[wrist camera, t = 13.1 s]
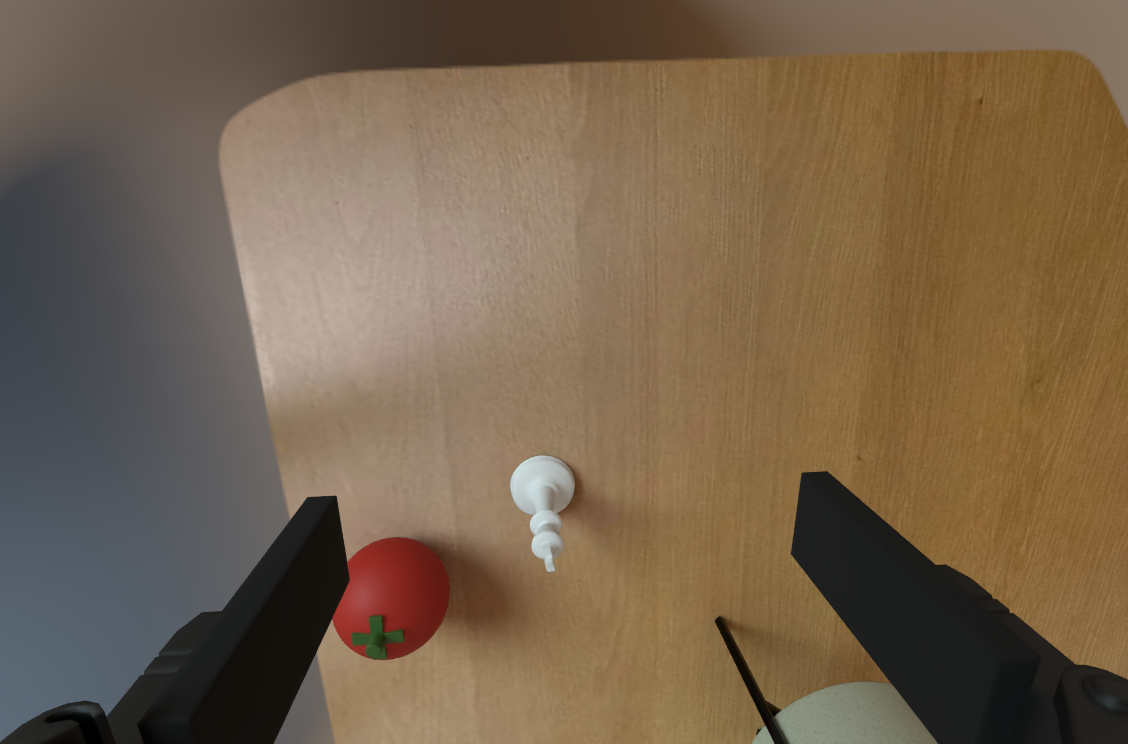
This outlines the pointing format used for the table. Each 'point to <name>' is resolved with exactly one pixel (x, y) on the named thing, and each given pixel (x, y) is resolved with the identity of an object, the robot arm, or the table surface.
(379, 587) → the tomato
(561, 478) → the chess piece
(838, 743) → the planter
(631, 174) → the table surface
